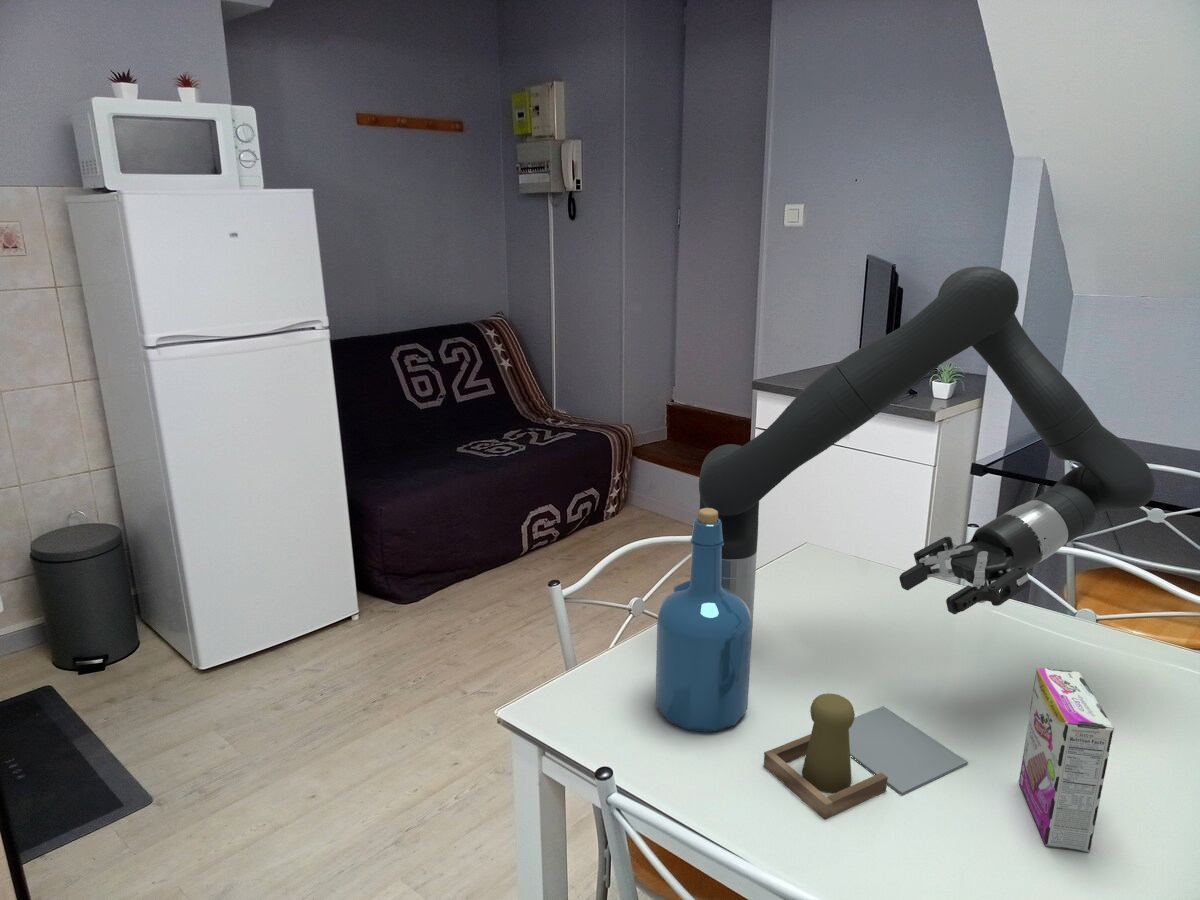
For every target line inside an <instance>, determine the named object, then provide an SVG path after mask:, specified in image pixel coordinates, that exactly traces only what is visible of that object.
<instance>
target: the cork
mask: <svg viewBox="0 0 1200 900" xmlns="http://www.w3.org/2000/svg"><path fill="white" fill-rule="evenodd" d="M809 712H810V716H811V720H812V721H813V725H812V729H811V732H810V734H811V737H810V741H809V745H808V749H807V753H806V755H805V757H804V762H803V766H802V770H801V776H802V777H803V778H805V779H806V780H807V781H808V782H809V783H811V784H812V785H813V786H814V787H815V788H817V789H818V790H819V791H820V792H821V793H825V794H826V793H827V794H828V793H829V794H834V793H837V792H839V791H841V790H843V789H846V788H848V787H850V786H852V782H853V781H852V763H851V757H850V744H849V728H850V727H851V726H852V724H853V721H854V717H856V716H855V715H856V713H855V709H854V706H853V704H852V703H851V701H850V700H849V699H847V698H846V697H844V696H843V695H840V694H835V693H822V694H819V695H818V696H816V697H815V698H814V699H813V701H812V703H811V706H810V709H809ZM851 781H852V782H851Z"/></svg>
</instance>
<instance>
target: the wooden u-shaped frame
mask: <svg viewBox="0 0 1200 900" xmlns="http://www.w3.org/2000/svg"><path fill="white" fill-rule="evenodd" d="M810 737H811V733H810V734H807V735H804V736H802V737H799V738H797V739H795V740H792V741H790V742H786V743H784V744H782V745H780V746H777V747H775V748H771V749H768V750H767V751H764V753H763V754H764V755H763V766H764V768H766V769H767V770H768V771H769V770H770V771H771V772H772V773H771V772H770V771H769V772H770V773H771V774H772V775H774V776H775V777H776V778H777V779H778V780H779V781H781V783H783V784H784V785H785V786H786V787H787V788H788V789H790V791H792V792H793V793H794V794H795V795H797V796H798V797H799V798H800V799H801V800H803V802H804V803H806V804H807V805H808V806H809V807H810V808H811V809H813V810H814V811H815V812H816V813H817V814H818V815H819V816H820V817H822V818H823V819H824V820H827V819H829V818H831V817H834V816H835V815H837V814H840V813H842V812H844V811H846V810H849V809H850V808H853V807H855V806H857V805H859V804H861V803H864V802H865V801H867V800H870V799H872V798H874V797H877V796H878V795H880V794H883V793H884V792H887V787H888V785H887V779H888V777H887V776H886V775H884V774H883V773H882V772H881V773H879V774H877V775H873V776H870V777H868V778H866V779H863V780H862V781H859V782H857V783H854V784H851V785H850V787H848V788H846V789H843V790H841V791H839V792H837V793H831V794H830V795H828V796H826V795H825V794H824V793H823V792H822V791H819V790H818V789H817V788H815V787H814V786H813V785H812V784H811V783H809V782H808V781H807V780H806V779H805V778H803V777H802V774H800V773H798V771H796V770H795V769H794V768H793V767H792V766H790V765H789V764H788V763H790V762H793V761H794V759H795V760H797V759H800V758H802V757H804V756H806V753H807V749H808V745H809V741H810ZM801 756H802V757H801ZM799 757H800V758H799ZM796 758H797V759H796ZM789 761H790V762H789Z"/></svg>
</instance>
